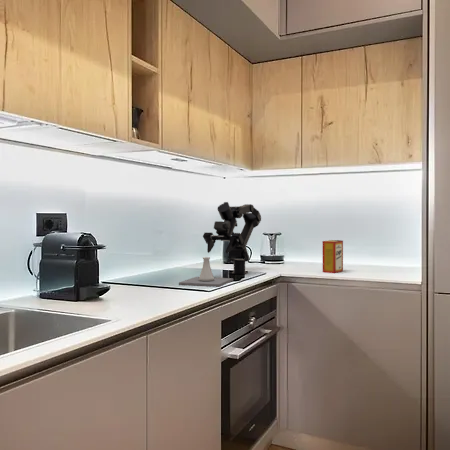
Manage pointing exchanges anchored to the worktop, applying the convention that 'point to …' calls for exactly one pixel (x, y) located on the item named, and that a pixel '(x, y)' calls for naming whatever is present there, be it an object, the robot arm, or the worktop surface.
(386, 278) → the worktop surface
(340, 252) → the baking soda box
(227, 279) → the mat
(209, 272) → the flask
